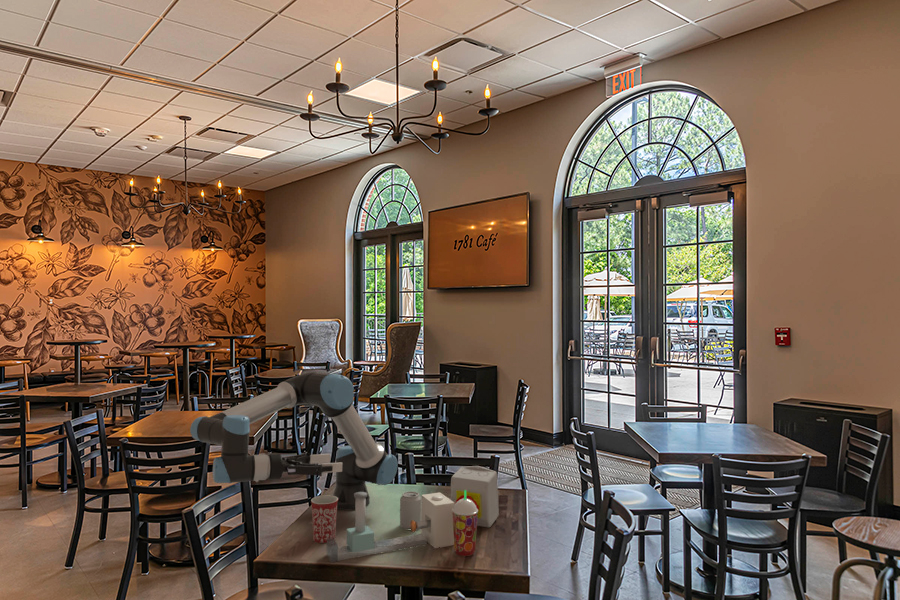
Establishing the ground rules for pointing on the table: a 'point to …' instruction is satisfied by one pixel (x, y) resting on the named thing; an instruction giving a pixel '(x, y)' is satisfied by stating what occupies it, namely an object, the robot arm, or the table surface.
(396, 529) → the table surface
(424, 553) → the table surface
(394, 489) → the table surface
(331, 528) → the mug
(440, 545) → the white notched housing
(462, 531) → the smoothie
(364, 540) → the carriage
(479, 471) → the electrical switch box
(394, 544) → the rail
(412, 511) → the can
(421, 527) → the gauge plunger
